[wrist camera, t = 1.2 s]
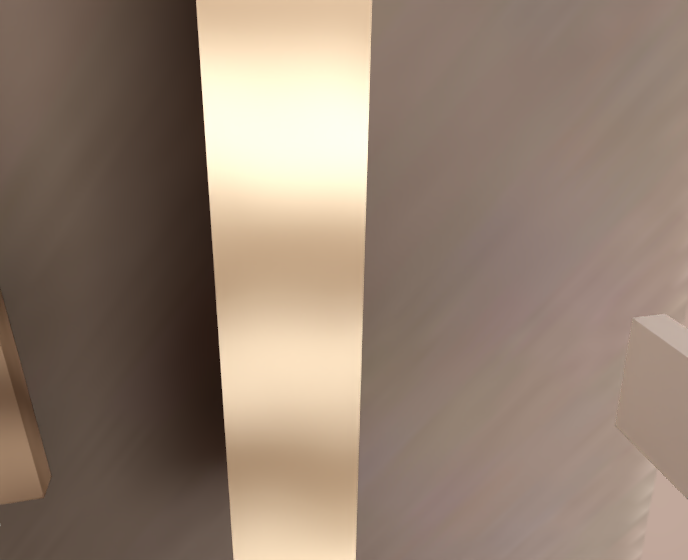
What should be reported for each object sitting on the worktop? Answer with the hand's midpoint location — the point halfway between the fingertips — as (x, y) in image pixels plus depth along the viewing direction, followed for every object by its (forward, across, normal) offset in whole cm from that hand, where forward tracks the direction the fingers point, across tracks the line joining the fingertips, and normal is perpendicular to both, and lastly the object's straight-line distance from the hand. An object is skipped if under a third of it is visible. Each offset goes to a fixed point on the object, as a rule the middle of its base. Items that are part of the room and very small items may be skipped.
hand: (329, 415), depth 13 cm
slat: (+16, 0, 0) cm, 16 cm away
